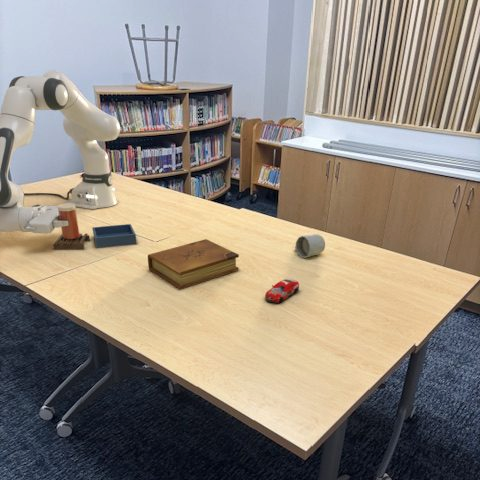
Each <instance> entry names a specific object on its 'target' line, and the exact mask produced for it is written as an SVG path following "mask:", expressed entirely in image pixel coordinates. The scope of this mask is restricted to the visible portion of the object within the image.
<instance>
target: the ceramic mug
mask: <svg viewBox="0 0 480 480" xmlns="http://www.w3.org/2000/svg"><path fill="white" fill-rule="evenodd" d="M325 249H326V241H325V239H324V237H323V236H322V235H320V234H316V233H314V234H306V235H300V236H299V237H298V238H297V239H296V241H295V246H294V250H295V251H296V253H297V254H298V256H299V257H300V258H304V259H306V258H309V257H313V256H318V255H320V254H322V253H323V252H324V251H325Z"/></svg>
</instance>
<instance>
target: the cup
mask: <svg viewBox="0 0 480 480" xmlns="http://www.w3.org/2000/svg"><path fill="white" fill-rule="evenodd" d="M57 206H58V212H59V218H60V221H63V220H68V221H69V225H68V226H62V227H60V229H61V235H63V238H64V239H76V238H78V237H80V234H81V233H80V229H79V228H80V227H79V221H78V216H77V209H76V208H77V207H76V206H75V204H72V203H67V202H65V203H64V202H63V203H60V204H58V205H57Z"/></svg>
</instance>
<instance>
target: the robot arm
mask: <svg viewBox="0 0 480 480" xmlns="http://www.w3.org/2000/svg"><path fill="white" fill-rule="evenodd" d="M37 111H59V112H60V113H61V114H62V115H63V116H64V118H63V122H62V127H63V131H64V132H65V133H66V135H67V136H68V137H70V138H71V139H72V141H73V142H74V143H75V145H76V147H77V148H78V150H79V152H80V155H81V159H82V164H83V170H84V172H83V173H81V174H80V175H79V179H81V181H80V182H79V183H78V184H77V185H76V186H75V187H73V188H70V189H69V191H67V193H66V197H64V196H63V195H61V194H59V193H54V192H53V193H50V192H28V193H24V189H23V187H22V186H21V185H19V184H18V183H16V182H14V181H12V180H9V170H10V167H11V161H12V158H13V154H14V152H15V151H16V150H17V149H18V148H23V147H25V146H27V145H29V143H31V141H32V139H33V136H34V133H35V132H34V131H35V125H36V113H37ZM120 133H121V125H120V122H119V120H118V119H117V117H116V116H114V115H111V114H109V113H107V112H105V111H104V110H102V109H101V108H99V107H97V106H96V105H94V104H93V103H91V102H90V101H89V99H87V98H86V97H85V96H84V94H83V93H81V91H80V90H79V89H78V87H77V86H76V85H75V84H74V83H73V82H72V80H71V79H70V78H69V77H67V75H65V74H64V73H63V72H61V71H59V70H56V69H50V70H48V71H46V72H45V73H44V74H43V76H39V75H36V76H35V75H34V76H32V75H31V76H30V75H29V76H24V75H20V76H16V77H14V78H13V79H11V81H10V83H9V85H8V88H7V89H6V91H5V94H4V97H3V99H2V103H1V108H0V233H14V232H22V233H31V234H32V233H33V234H43V235H44V234H45V235H47V234H51V233H53V232H54V230H55V229H57V228H58V229H59V228H61V227H62V226H68V225H69V221H68V220H63V221H60V218H59V212H58V205H43V204H41V203H38V204H37V203H36V204H34V205H32V206H24V205H25V204H24V203H25V196H56V197H59V198H60V199H63V200H65V201H67V202H66V203H72V204H75V208H83V209H88V210H89V209H90V210H96V209H103V208H109V207H113V206H115V205H117V204H118V200H117V198H116V195H115V192H114V191H115V190H116V189H115V187H113V177H112V171H111V168H110V158H109V154H108V153H107V151H106V150H104V149H103V148H101V146H100V144H99V143H98V142H110V141H114V140H117V139H118V137H119V135H120ZM70 195H71V197H70Z"/></svg>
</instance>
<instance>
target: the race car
mask: <svg viewBox="0 0 480 480" xmlns="http://www.w3.org/2000/svg"><path fill="white" fill-rule="evenodd" d="M299 290H300V283H299V281H298V280H295V279H292V278H284V279H281V280H280V281H278V282H277V283H275V284H274V285H271V288H269V290H267V291H266V292H265V295H264V297H265V300H266V301H268V302H270V303H278V304H282V303H283V301H284V300H286V299H288V298H289V297H291V296H292V295H296V294H297V292H298V291H299Z"/></svg>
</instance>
